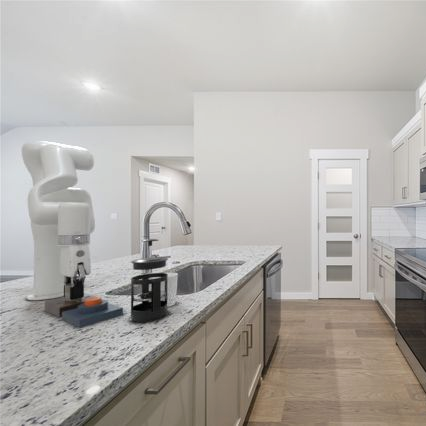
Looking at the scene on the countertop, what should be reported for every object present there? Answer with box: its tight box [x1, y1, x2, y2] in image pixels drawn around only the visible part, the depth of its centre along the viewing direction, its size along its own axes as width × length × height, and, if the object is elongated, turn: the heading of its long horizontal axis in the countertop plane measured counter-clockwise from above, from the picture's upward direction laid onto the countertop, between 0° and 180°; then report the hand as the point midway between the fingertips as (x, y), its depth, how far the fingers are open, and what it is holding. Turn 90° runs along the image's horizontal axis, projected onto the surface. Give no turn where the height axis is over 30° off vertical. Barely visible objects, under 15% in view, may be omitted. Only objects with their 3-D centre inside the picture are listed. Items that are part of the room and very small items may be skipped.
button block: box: [61, 299, 124, 329], centre depth 75 cm, size 12×10×4 cm
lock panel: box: [44, 292, 103, 319], centre depth 81 cm, size 12×10×3 cm
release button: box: [85, 296, 102, 306], centre depth 75 cm, size 4×4×2 cm
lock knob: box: [65, 283, 82, 302], centre depth 81 cm, size 4×4×5 cm
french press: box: [129, 238, 169, 324], centre depth 74 cm, size 12×9×23 cm
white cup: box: [151, 272, 179, 308], centre depth 85 cm, size 8×8×10 cm
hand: (73, 296), depth 81 cm, fingers closed on lock knob, 4 cm apart
